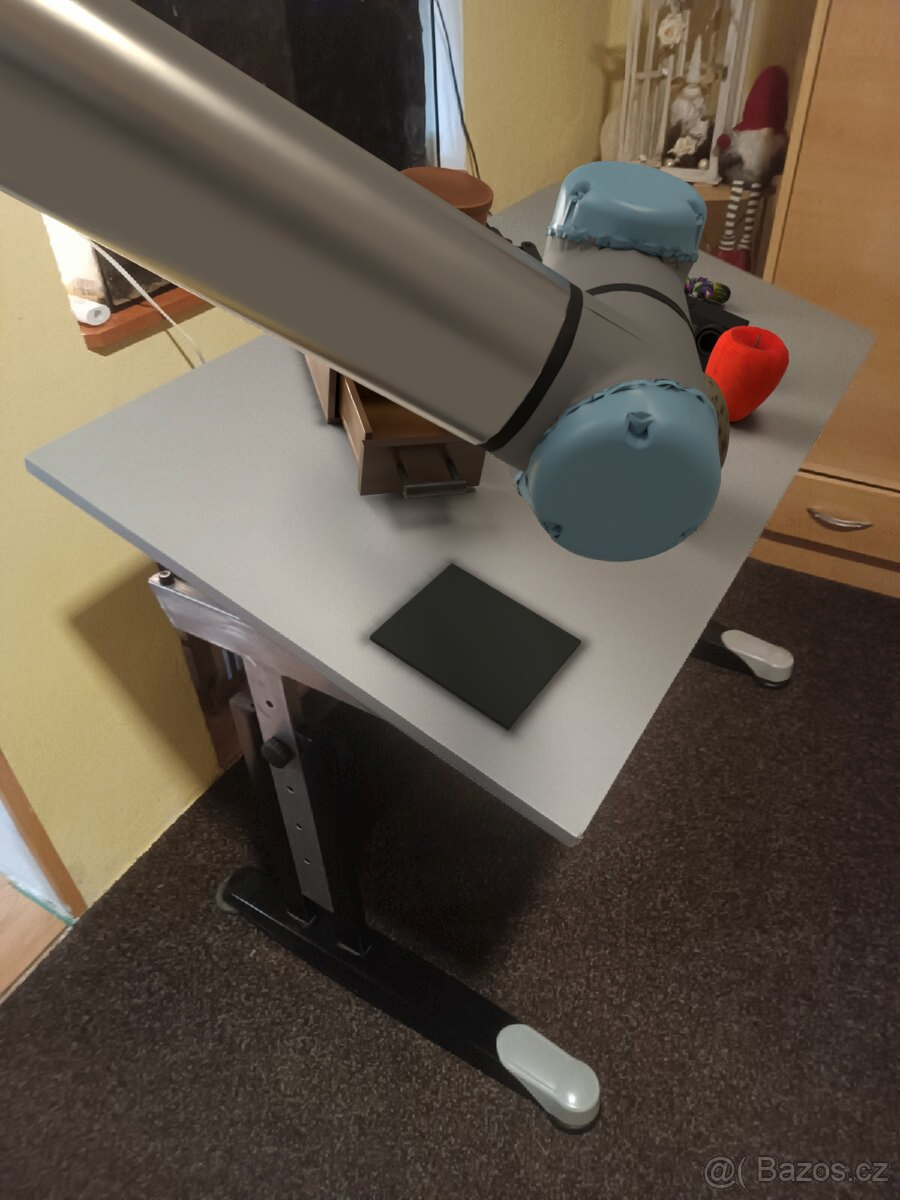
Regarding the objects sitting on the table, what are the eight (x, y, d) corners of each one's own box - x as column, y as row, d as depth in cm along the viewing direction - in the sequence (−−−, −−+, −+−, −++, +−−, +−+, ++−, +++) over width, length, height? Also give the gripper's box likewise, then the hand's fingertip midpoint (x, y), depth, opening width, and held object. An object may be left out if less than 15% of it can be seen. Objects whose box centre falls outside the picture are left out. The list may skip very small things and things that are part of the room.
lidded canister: (370, 368, 74) (385, 194, 63) (387, 326, 79) (403, 159, 68) (459, 386, 74) (488, 215, 63) (469, 342, 79) (498, 178, 68)
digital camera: (644, 351, 111) (661, 302, 106) (660, 337, 114) (677, 289, 109) (714, 383, 108) (735, 334, 102) (729, 368, 111) (750, 320, 106)
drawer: (492, 513, 82) (503, 466, 78) (369, 524, 78) (374, 476, 74) (436, 399, 94) (443, 354, 90) (328, 405, 90) (330, 357, 86)
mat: (369, 639, 70) (369, 635, 69) (451, 567, 77) (452, 562, 77) (507, 731, 65) (508, 727, 65) (579, 644, 73) (581, 640, 72)
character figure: (615, 294, 122) (723, 321, 120) (622, 269, 119) (732, 296, 117) (626, 270, 129) (729, 295, 126) (632, 246, 126) (737, 270, 123)
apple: (758, 443, 99) (798, 363, 91) (687, 423, 100) (720, 342, 92) (759, 406, 105) (797, 328, 97) (692, 387, 106) (724, 308, 98)
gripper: (362, 412, 57) (302, 259, 71) (624, 397, 63) (520, 259, 78) (370, 310, 52) (303, 167, 66) (655, 305, 58) (538, 175, 72)
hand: (421, 217), depth 72 cm, fingers closed on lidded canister, 8 cm apart
